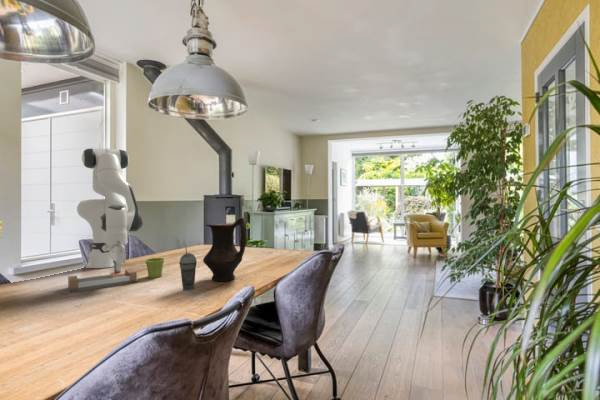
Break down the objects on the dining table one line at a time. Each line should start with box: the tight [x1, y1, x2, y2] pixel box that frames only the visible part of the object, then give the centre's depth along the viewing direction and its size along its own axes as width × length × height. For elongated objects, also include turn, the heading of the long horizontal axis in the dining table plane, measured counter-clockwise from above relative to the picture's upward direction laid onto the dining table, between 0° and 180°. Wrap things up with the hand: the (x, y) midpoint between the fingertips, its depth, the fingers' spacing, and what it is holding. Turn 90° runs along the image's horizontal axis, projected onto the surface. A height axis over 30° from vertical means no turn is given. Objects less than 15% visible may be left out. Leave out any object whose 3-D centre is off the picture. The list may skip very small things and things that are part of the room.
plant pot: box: [144, 257, 166, 279], centre depth 172 cm, size 9×9×9 cm
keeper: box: [109, 261, 125, 278], centre depth 160 cm, size 7×5×9 cm
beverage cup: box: [178, 242, 198, 292], centre depth 148 cm, size 7×7×20 cm
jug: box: [202, 216, 247, 282], centre depth 165 cm, size 21×18×30 cm
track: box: [67, 268, 138, 293], centre depth 157 cm, size 10×26×5 cm, turn 127°
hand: (117, 269), depth 160 cm, fingers closed on keeper, 3 cm apart
